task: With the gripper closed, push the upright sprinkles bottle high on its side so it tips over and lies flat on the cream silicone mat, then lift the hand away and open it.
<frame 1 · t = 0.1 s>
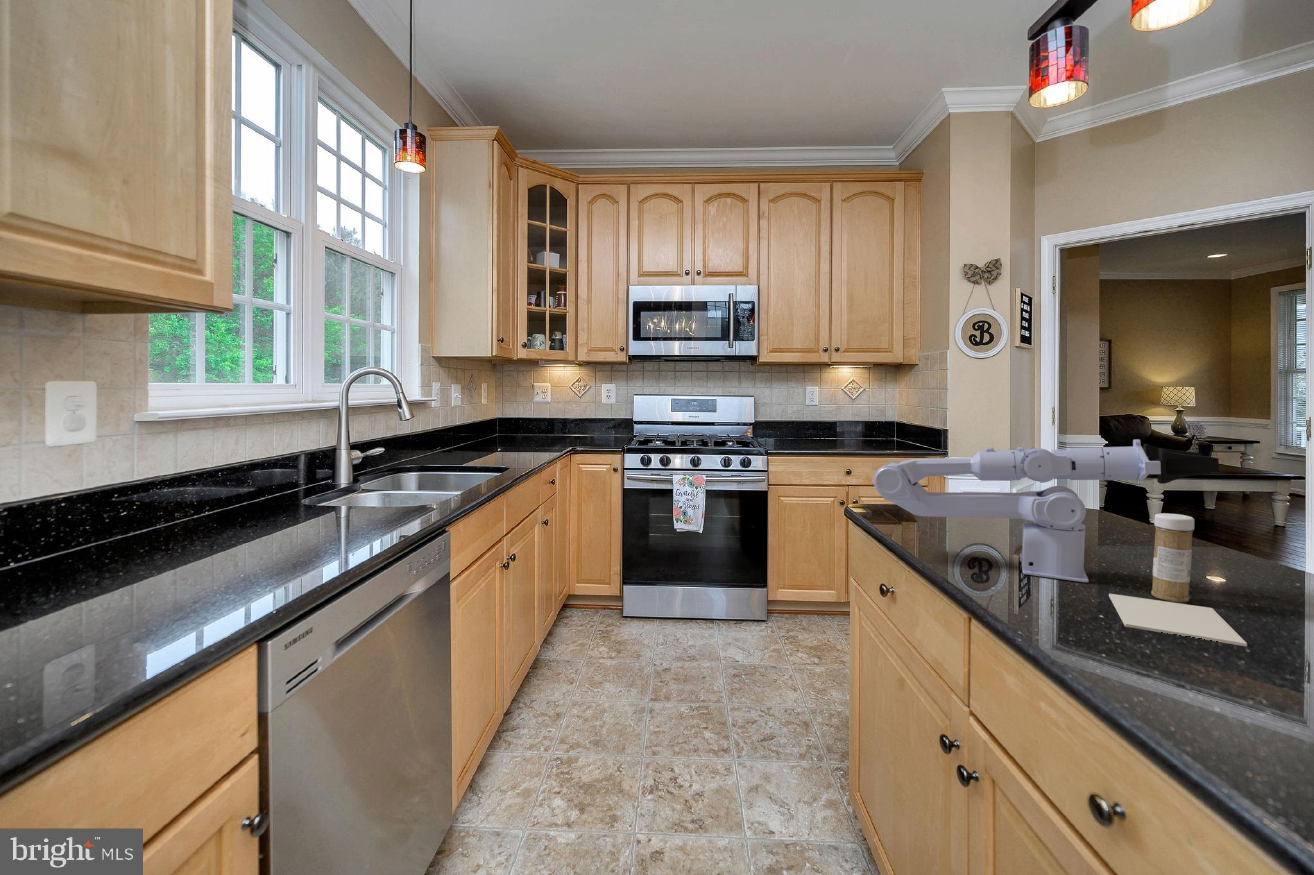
hand: (1210, 462, 88), 22 cm above the worktop, tool horizontal, fingers open, 7 cm apart
silicone mat: (1170, 618, 79), on the worktop
sprinkles bottle: (1169, 599, 87), on the worktop
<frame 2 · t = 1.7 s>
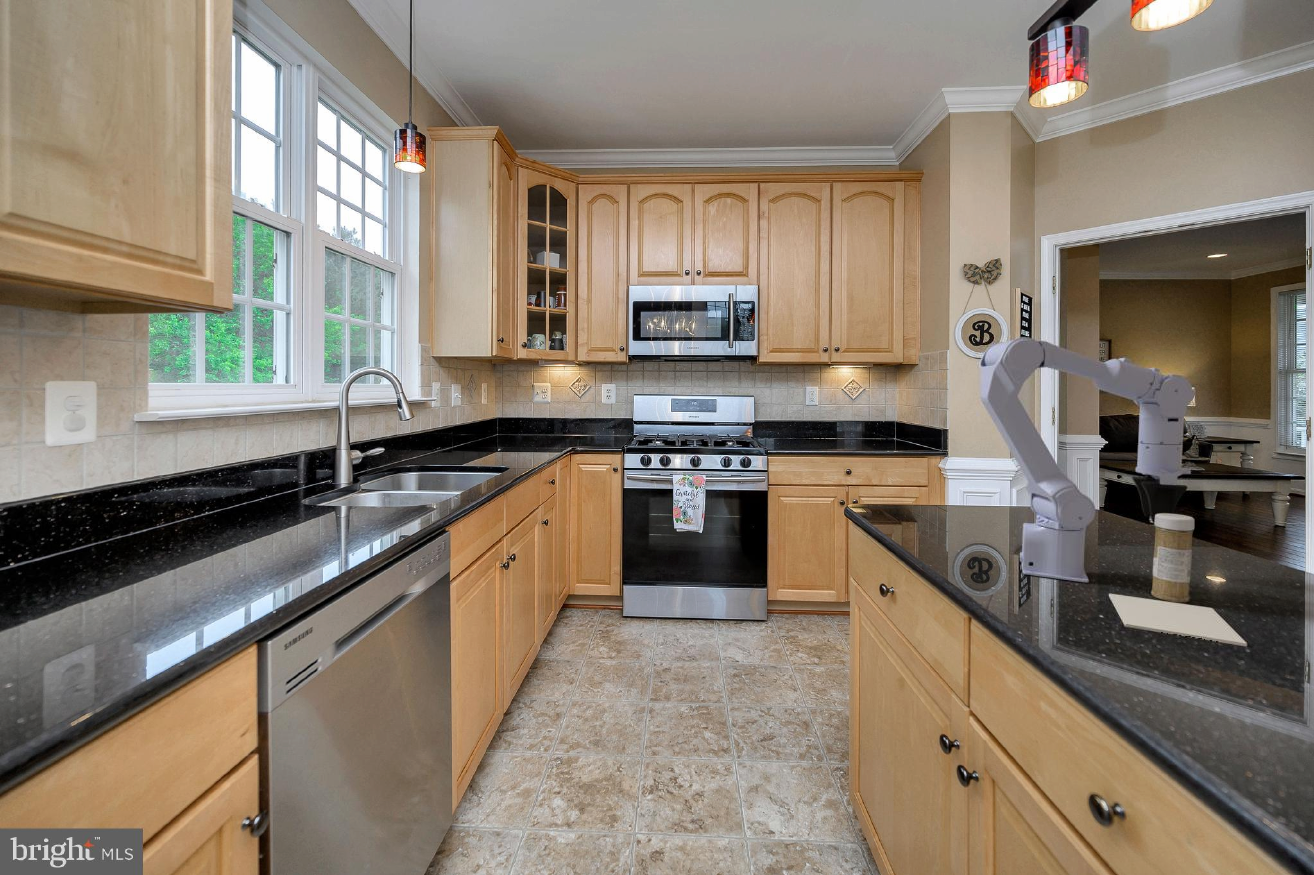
hand: (1156, 519, 96), 10 cm above the worktop, tool pointing down, fingers open, 6 cm apart
nothing on the worktop moved.
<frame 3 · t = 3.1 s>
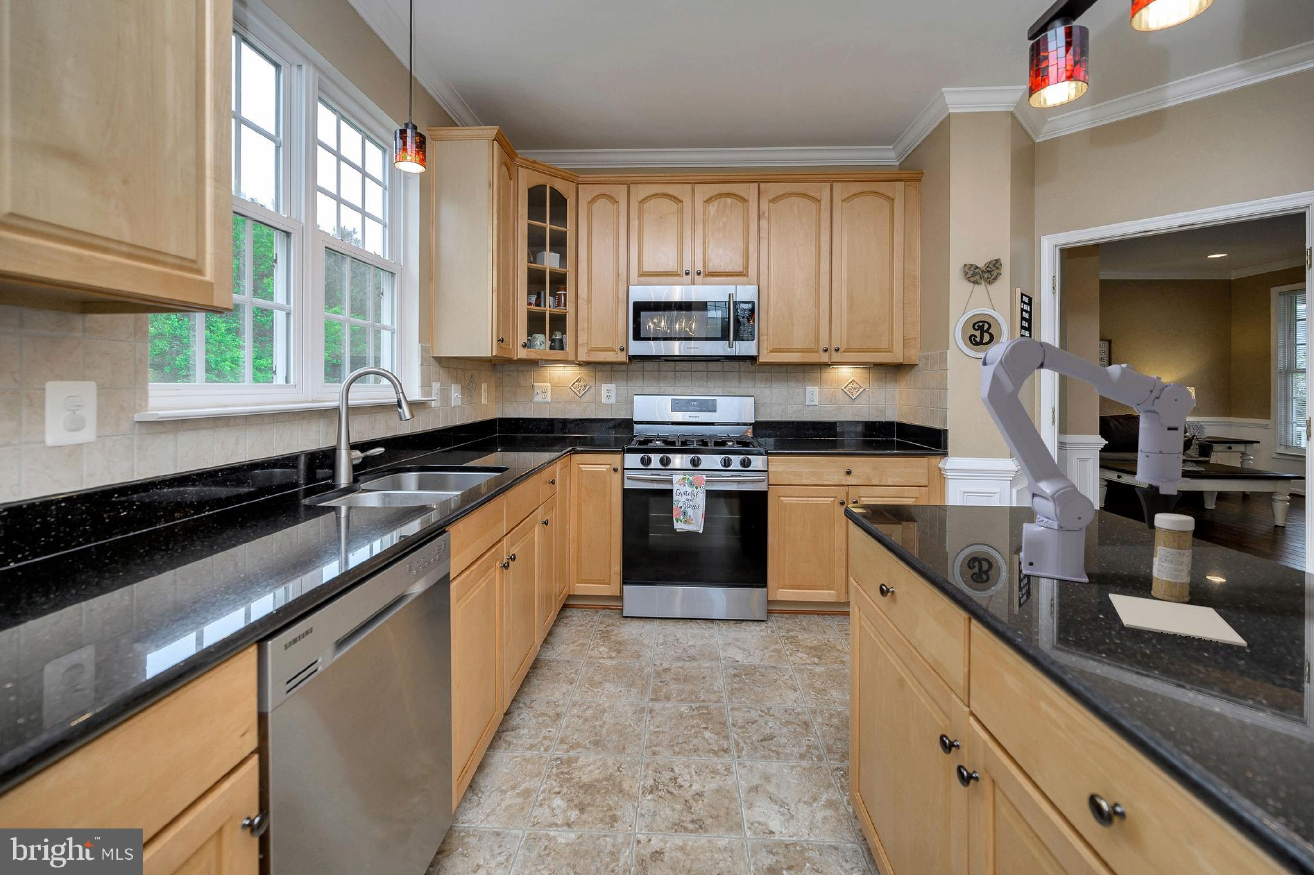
hand: (1155, 528, 96), 9 cm above the worktop, tool pointing down, fingers closed
nothing on the worktop moved.
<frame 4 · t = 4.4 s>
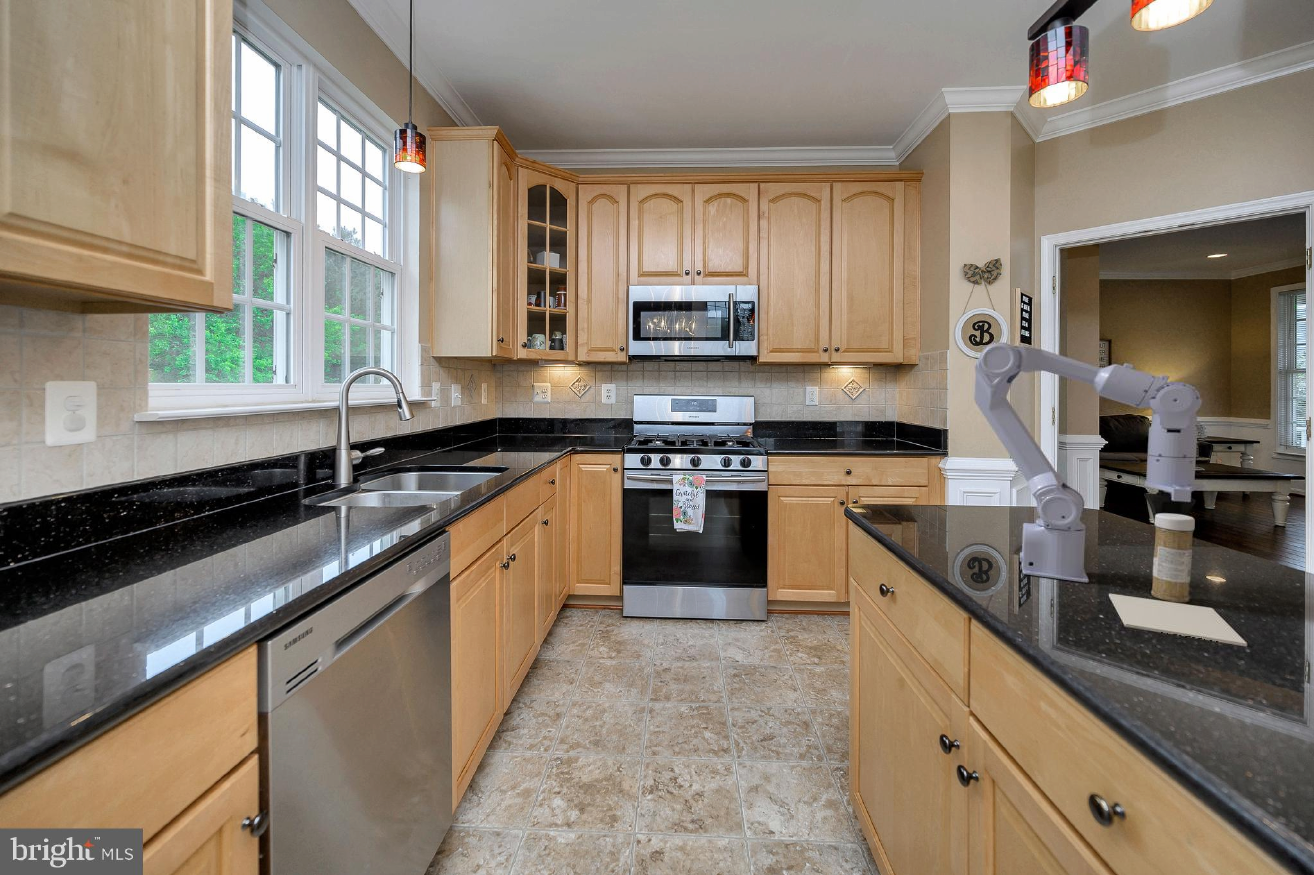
hand: (1166, 538, 90), 9 cm above the worktop, tool pointing down, fingers closed
sprinkles bottle: (1169, 599, 87), on the worktop, touching gripper
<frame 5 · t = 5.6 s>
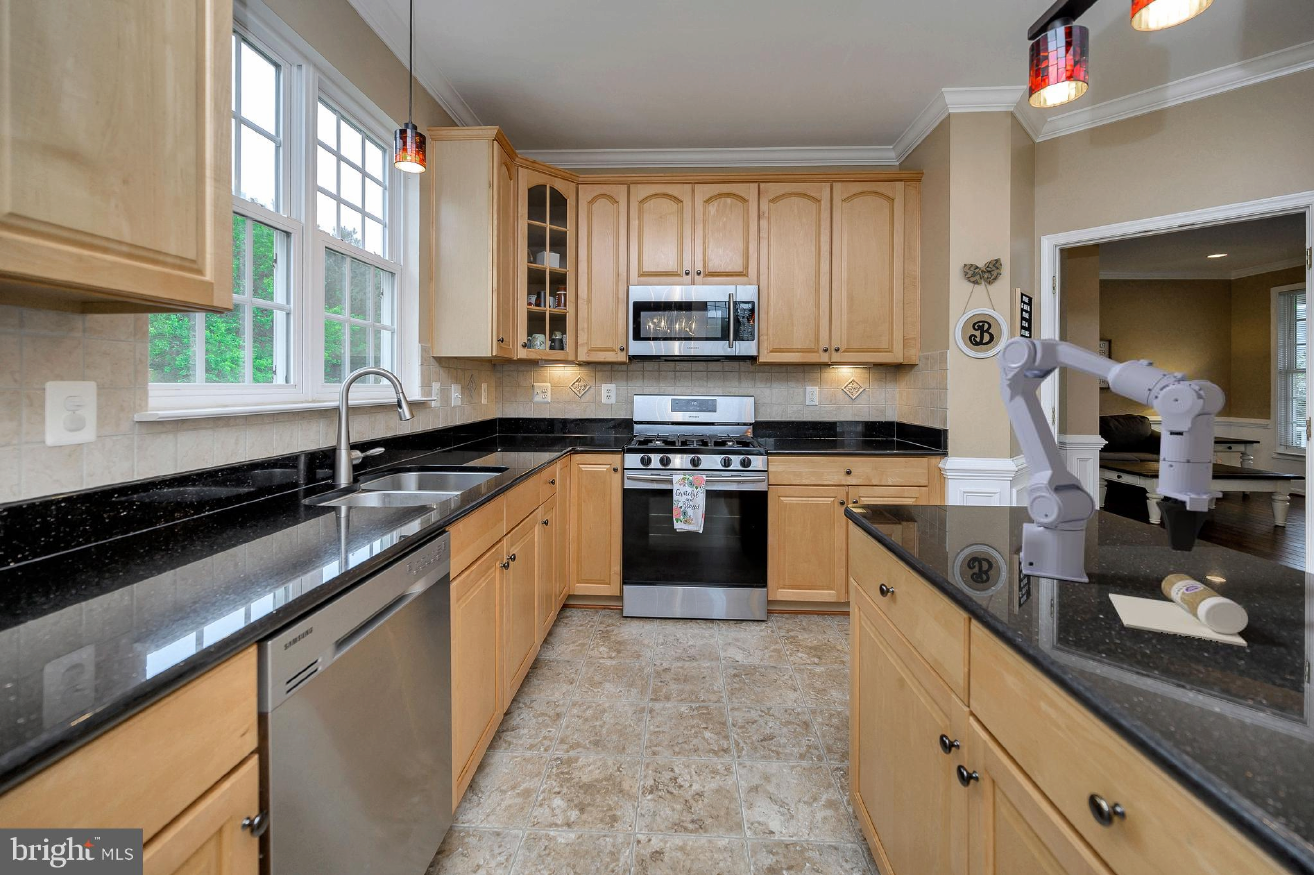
hand: (1180, 549, 83), 9 cm above the worktop, tool pointing down, fingers closed
sprinkles bottle: (1178, 587, 85), point 2 cm above the worktop, touching silicone mat
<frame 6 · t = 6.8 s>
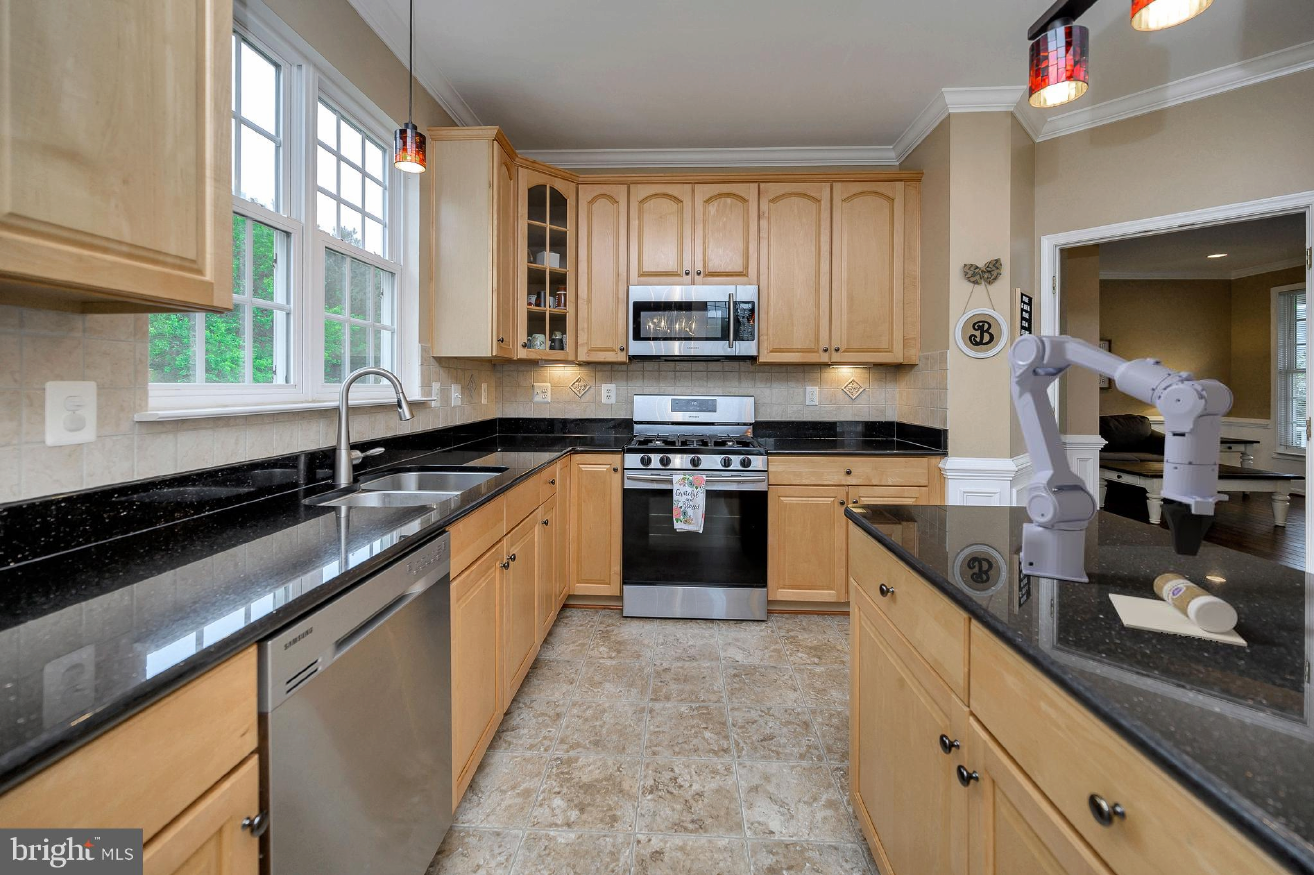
hand: (1185, 554, 80), 9 cm above the worktop, tool pointing down, fingers closed
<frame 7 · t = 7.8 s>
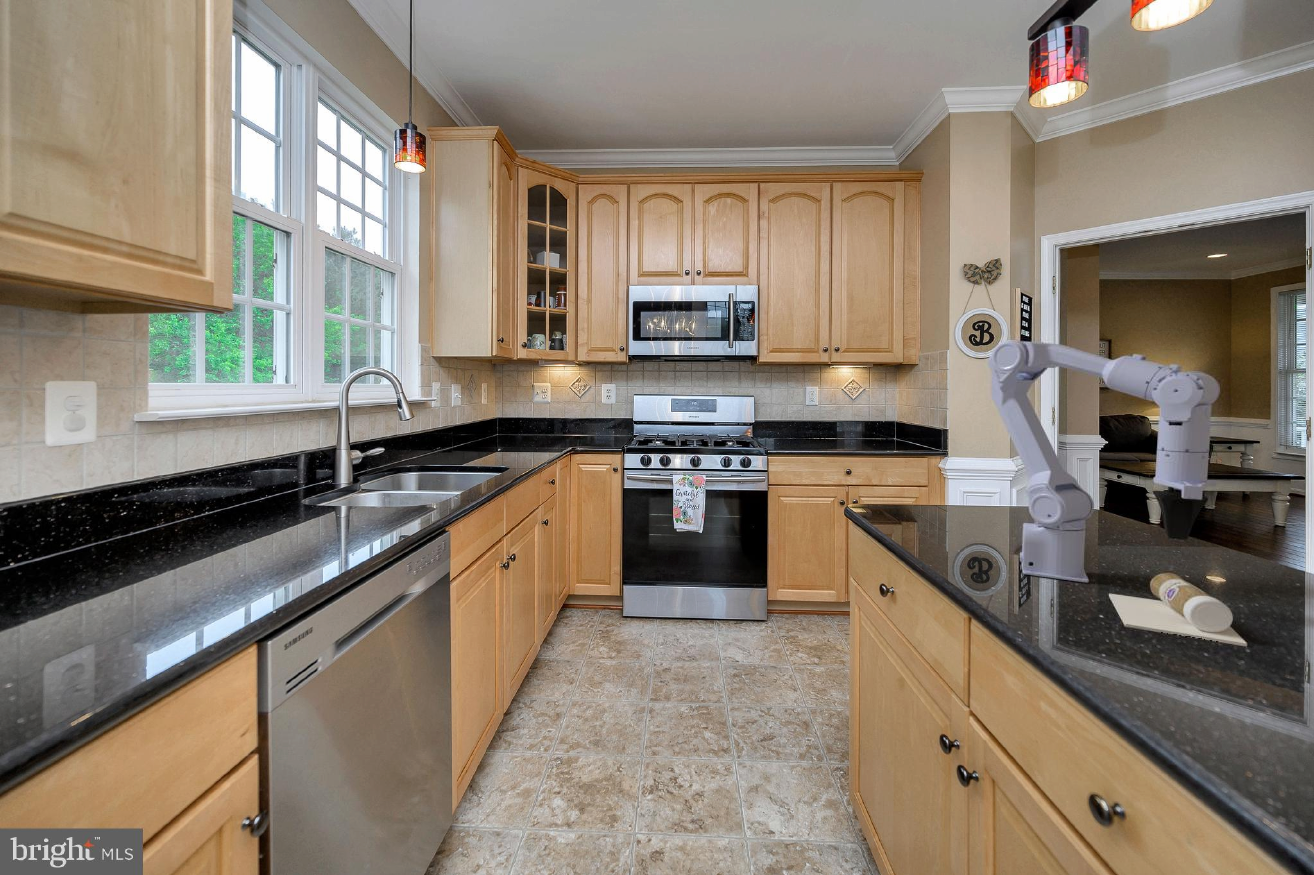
hand: (1176, 538, 84), 10 cm above the worktop, tool pointing down, fingers closed
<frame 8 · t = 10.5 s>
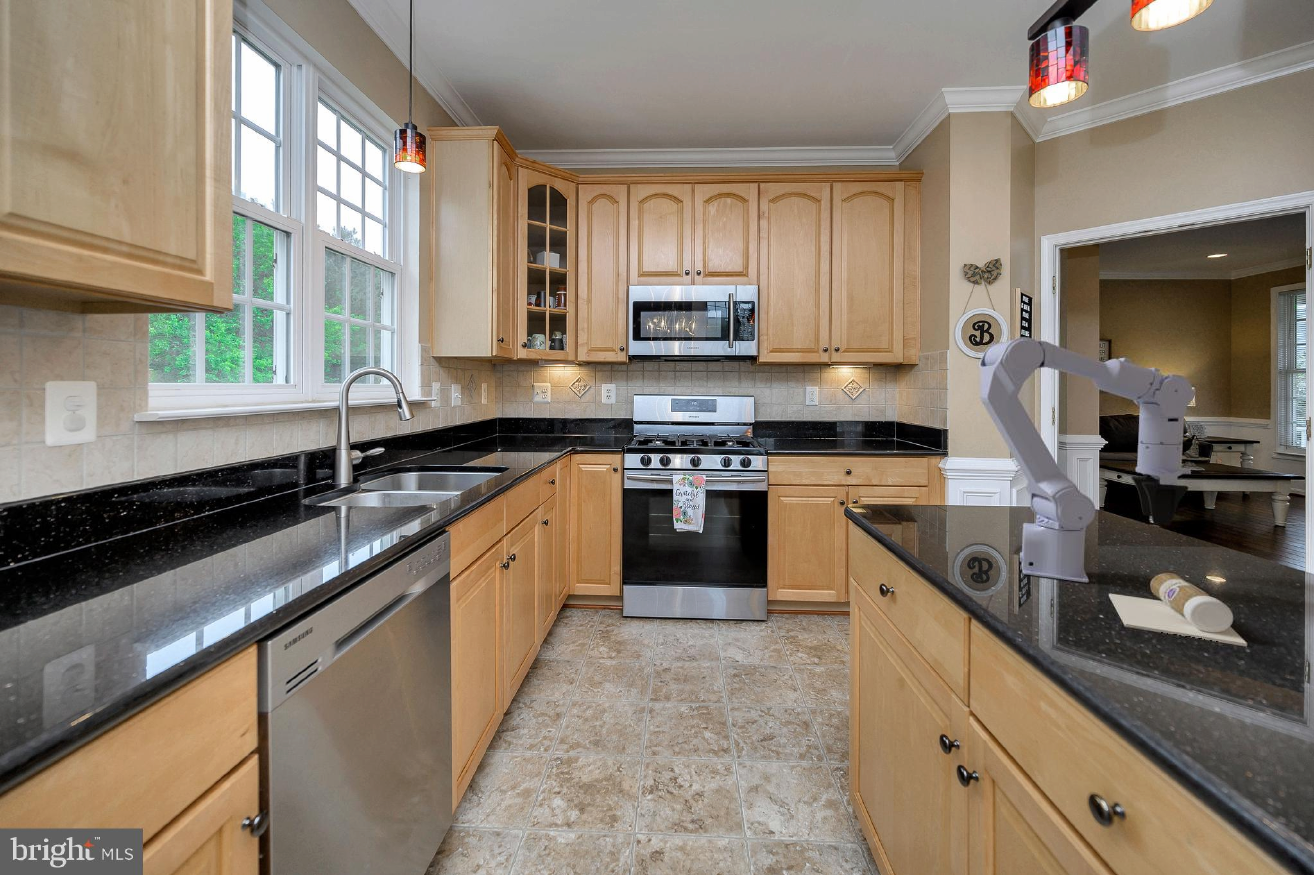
hand: (1156, 519, 96), 10 cm above the worktop, tool pointing down, fingers open, 7 cm apart
at the end: sprinkles bottle tilted 89°; sprinkles bottle touching silicone mat; sprinkles bottle inside the target area (2.2 cm from its centre), point 2.4 cm above the worktop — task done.
